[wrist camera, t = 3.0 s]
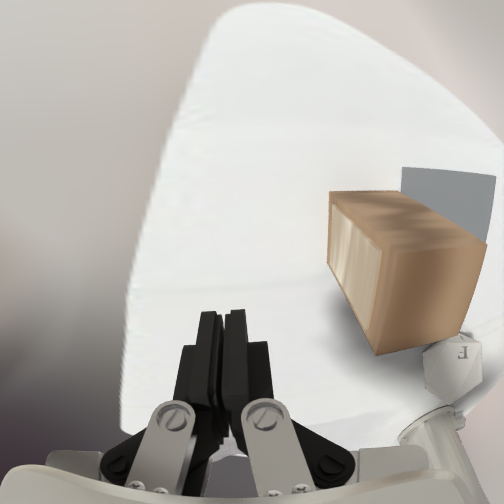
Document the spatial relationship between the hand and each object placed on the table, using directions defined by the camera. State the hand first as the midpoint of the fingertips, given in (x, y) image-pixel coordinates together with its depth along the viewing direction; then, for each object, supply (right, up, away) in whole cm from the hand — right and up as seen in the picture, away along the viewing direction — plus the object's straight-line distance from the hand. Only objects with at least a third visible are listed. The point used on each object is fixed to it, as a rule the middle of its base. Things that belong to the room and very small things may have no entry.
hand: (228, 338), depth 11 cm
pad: (+20, +6, +11) cm, 23 cm away
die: (+25, -9, +18) cm, 32 cm away
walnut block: (+10, +6, +11) cm, 16 cm away
